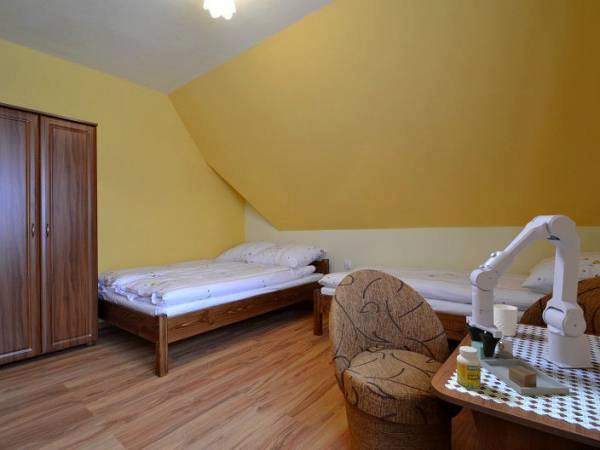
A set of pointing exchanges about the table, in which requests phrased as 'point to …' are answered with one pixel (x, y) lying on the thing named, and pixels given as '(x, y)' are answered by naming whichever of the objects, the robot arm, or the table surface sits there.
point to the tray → (543, 381)
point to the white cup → (505, 319)
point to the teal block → (481, 350)
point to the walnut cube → (522, 377)
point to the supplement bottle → (468, 368)
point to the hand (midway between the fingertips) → (482, 353)
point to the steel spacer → (505, 349)
